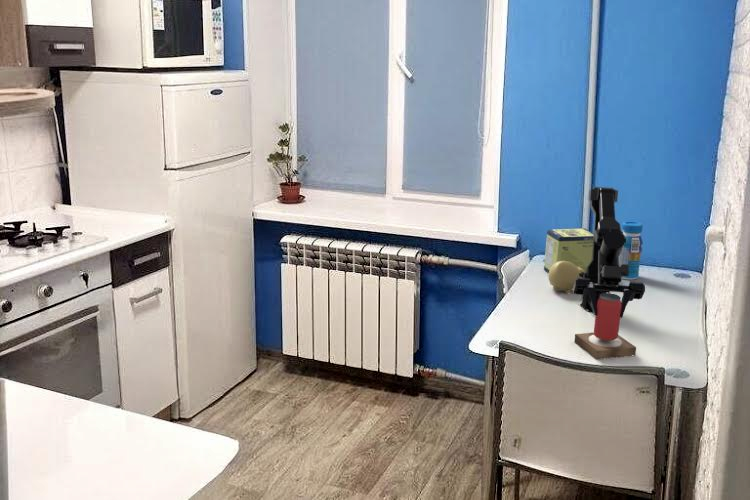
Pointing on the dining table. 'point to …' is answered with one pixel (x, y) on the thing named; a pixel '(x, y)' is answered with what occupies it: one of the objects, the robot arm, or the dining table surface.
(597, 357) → the plinth
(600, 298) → the beer can
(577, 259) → the protein box
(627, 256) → the beverage bottle
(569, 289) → the toy pig
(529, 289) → the dining table surface
